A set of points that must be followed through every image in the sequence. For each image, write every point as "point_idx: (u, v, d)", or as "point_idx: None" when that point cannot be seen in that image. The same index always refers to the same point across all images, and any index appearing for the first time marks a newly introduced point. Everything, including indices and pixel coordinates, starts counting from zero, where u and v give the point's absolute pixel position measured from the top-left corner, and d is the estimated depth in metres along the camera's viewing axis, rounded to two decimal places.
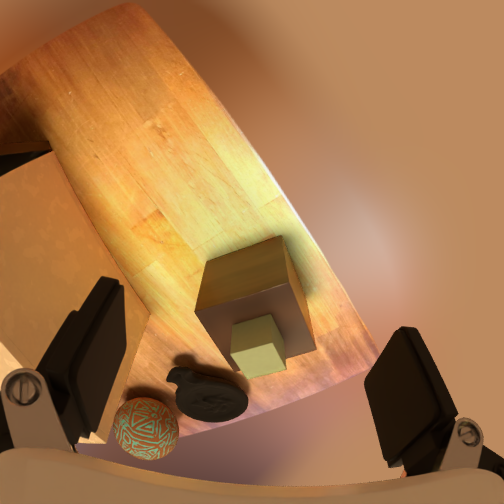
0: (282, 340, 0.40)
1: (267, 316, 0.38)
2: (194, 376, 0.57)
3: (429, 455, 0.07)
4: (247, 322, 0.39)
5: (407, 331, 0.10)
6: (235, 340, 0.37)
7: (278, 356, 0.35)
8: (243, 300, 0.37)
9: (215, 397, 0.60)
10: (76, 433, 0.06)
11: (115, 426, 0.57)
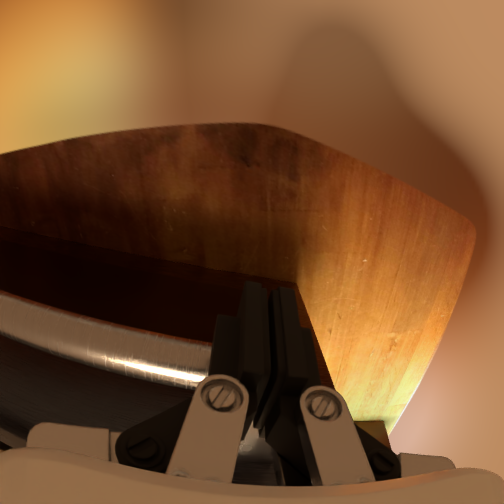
0: None
1: None
2: None
3: (279, 423, 0.07)
4: None
5: (279, 290, 0.10)
6: None
7: None
8: None
9: None
10: (246, 429, 0.08)
11: None
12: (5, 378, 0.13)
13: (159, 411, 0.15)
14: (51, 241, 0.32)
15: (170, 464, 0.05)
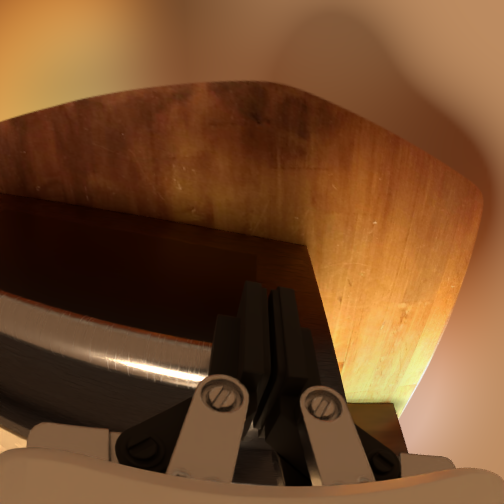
0: None
1: None
2: None
3: (279, 423, 0.07)
4: None
5: (279, 290, 0.10)
6: None
7: None
8: None
9: None
10: (246, 429, 0.08)
11: None
12: (14, 367, 0.14)
13: (164, 395, 0.16)
14: (55, 206, 0.31)
15: (170, 464, 0.05)
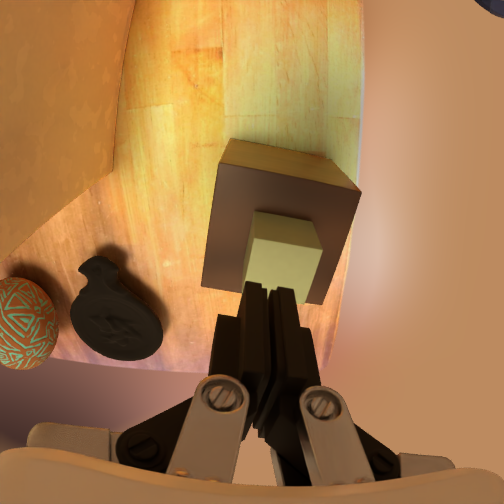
0: None
1: (308, 222, 0.27)
2: (116, 280, 0.40)
3: (278, 423, 0.07)
4: (278, 216, 0.26)
5: (279, 290, 0.10)
6: (260, 226, 0.24)
7: (312, 277, 0.24)
8: (295, 182, 0.25)
9: (124, 323, 0.44)
10: (247, 429, 0.08)
11: None
12: None
13: None
14: None
15: (170, 464, 0.05)
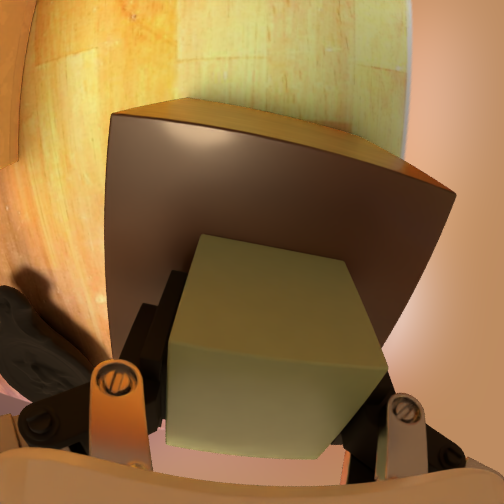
0: None
1: (336, 264, 0.11)
2: (31, 320, 0.24)
3: (363, 430, 0.07)
4: (262, 249, 0.10)
5: None
6: (205, 285, 0.08)
7: (345, 422, 0.08)
8: (306, 161, 0.09)
9: (54, 373, 0.28)
10: (157, 420, 0.07)
11: None
12: None
13: None
14: None
15: None
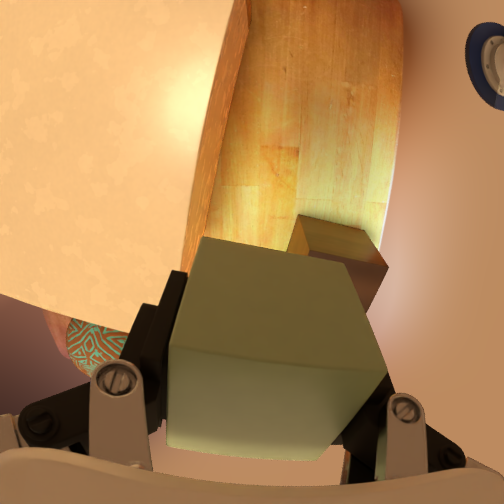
0: None
1: (336, 266, 0.11)
2: None
3: (364, 430, 0.07)
4: (262, 252, 0.10)
5: None
6: (205, 288, 0.08)
7: (345, 423, 0.08)
8: (352, 262, 0.42)
9: None
10: (157, 420, 0.07)
11: (78, 325, 0.50)
12: None
13: None
14: None
15: None
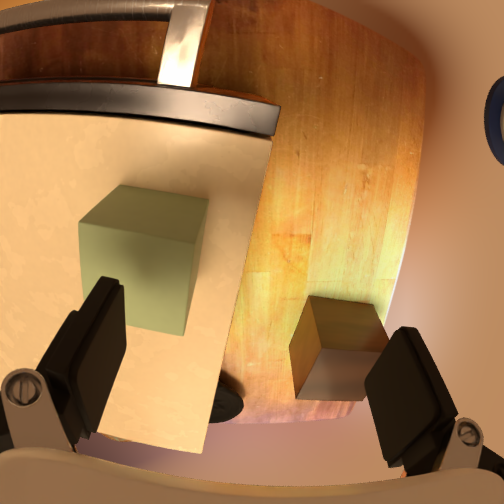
0: None
1: (200, 200, 0.16)
2: None
3: (429, 455, 0.07)
4: (152, 191, 0.16)
5: (407, 331, 0.10)
6: (107, 204, 0.14)
7: (185, 292, 0.13)
8: (361, 353, 0.42)
9: (214, 402, 0.60)
10: (76, 433, 0.06)
11: None
12: None
13: None
14: None
15: None
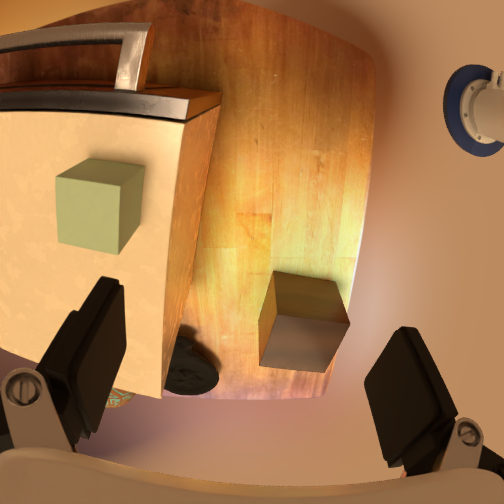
0: (138, 220, 0.24)
1: (138, 166, 0.22)
2: (191, 349, 0.63)
3: (429, 455, 0.07)
4: (108, 161, 0.22)
5: (407, 331, 0.10)
6: (76, 168, 0.20)
7: (117, 220, 0.19)
8: (315, 322, 0.48)
9: (191, 373, 0.66)
10: (76, 433, 0.06)
11: None
12: (10, 89, 0.22)
13: (88, 87, 0.23)
14: None
15: None
